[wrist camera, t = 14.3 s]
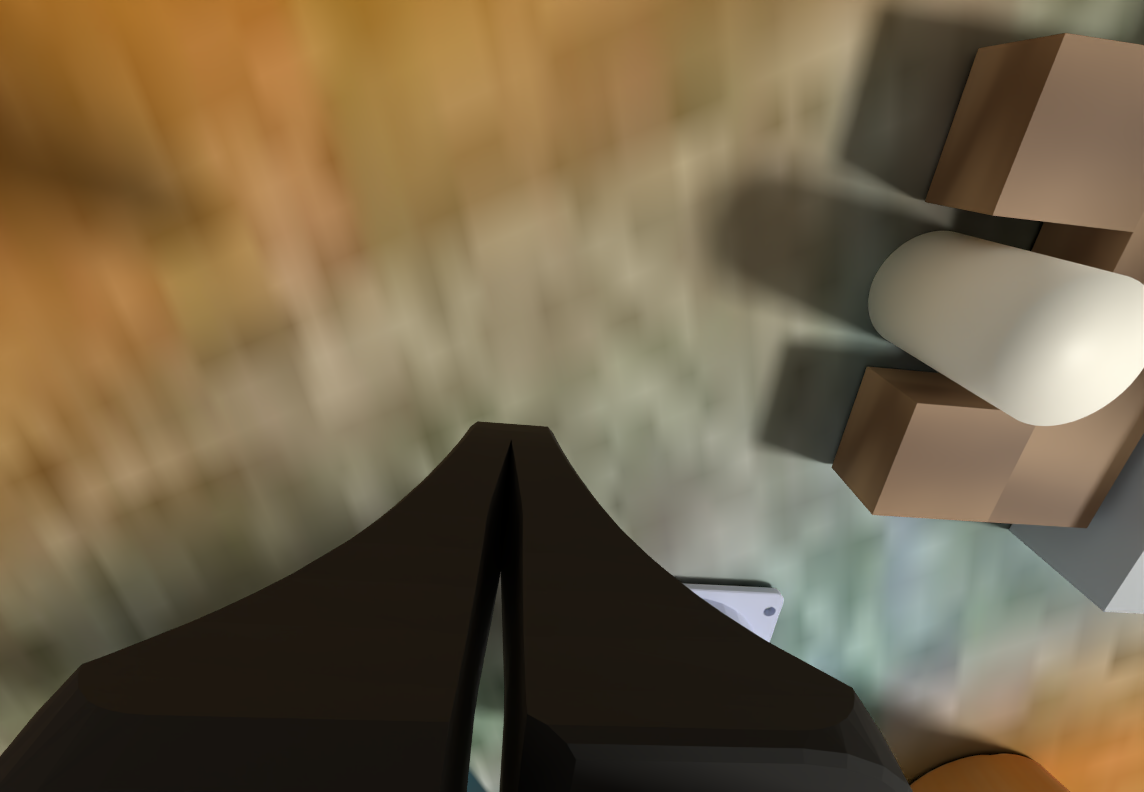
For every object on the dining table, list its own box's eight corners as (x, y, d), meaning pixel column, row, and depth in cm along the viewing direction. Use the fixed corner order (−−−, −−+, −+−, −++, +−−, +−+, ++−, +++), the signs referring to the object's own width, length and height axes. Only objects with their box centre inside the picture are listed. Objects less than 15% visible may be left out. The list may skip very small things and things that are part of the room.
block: (1022, 480, 23) (1087, 528, 20) (831, 467, 22) (872, 514, 20) (1226, 85, 17) (1355, 77, 15) (978, 47, 16) (1065, 33, 14)
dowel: (963, 347, 21) (1115, 427, 15) (855, 345, 20) (970, 425, 15) (1003, 232, 19) (1190, 276, 14) (886, 228, 19) (1028, 270, 13)
